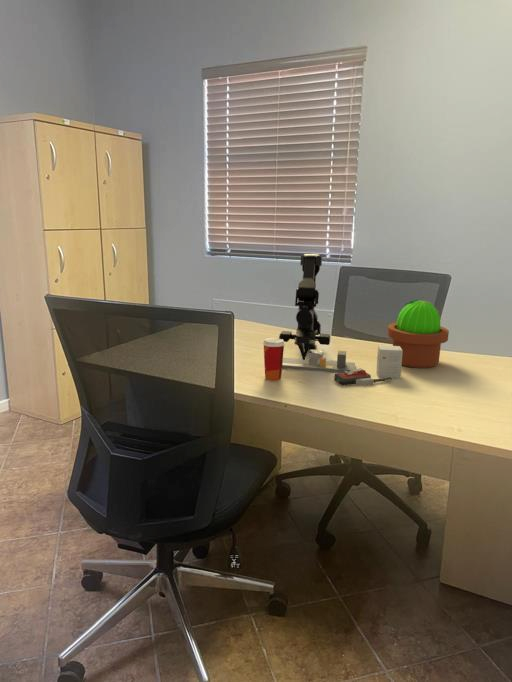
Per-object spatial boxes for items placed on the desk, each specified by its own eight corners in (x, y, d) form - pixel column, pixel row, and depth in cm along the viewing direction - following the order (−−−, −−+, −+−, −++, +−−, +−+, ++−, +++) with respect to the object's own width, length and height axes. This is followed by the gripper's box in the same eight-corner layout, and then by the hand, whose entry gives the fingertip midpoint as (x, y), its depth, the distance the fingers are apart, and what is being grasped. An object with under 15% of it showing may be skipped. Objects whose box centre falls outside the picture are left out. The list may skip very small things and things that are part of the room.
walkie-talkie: (342, 389, 175) (393, 383, 182) (342, 377, 174) (394, 371, 181) (330, 381, 183) (379, 375, 190) (330, 369, 182) (380, 364, 189)
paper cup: (272, 373, 189) (273, 336, 186) (288, 378, 184) (289, 340, 180) (257, 378, 184) (257, 339, 180) (273, 383, 179) (274, 344, 175)
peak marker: (320, 364, 194) (320, 357, 193) (325, 365, 194) (326, 357, 193) (319, 366, 192) (320, 358, 191) (325, 366, 192) (325, 359, 191)
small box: (398, 373, 191) (400, 345, 188) (400, 378, 186) (403, 350, 183) (375, 372, 192) (378, 345, 189) (377, 377, 186) (380, 349, 184)
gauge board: (277, 360, 205) (277, 344, 204) (354, 365, 199) (355, 350, 198) (273, 367, 196) (273, 351, 194) (354, 373, 190) (355, 357, 188)
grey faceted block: (309, 360, 200) (310, 349, 199) (322, 361, 199) (323, 350, 198) (307, 366, 193) (308, 354, 192) (320, 367, 192) (321, 355, 191)
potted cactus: (456, 367, 199) (464, 302, 193) (408, 372, 192) (414, 306, 185) (420, 351, 219) (426, 292, 213) (375, 356, 212) (379, 295, 205)
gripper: (277, 322, 188) (276, 364, 192) (329, 326, 184) (327, 368, 188) (282, 316, 198) (280, 355, 202) (331, 319, 195) (329, 359, 199)
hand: (303, 359), depth 198 cm, fingers closed
